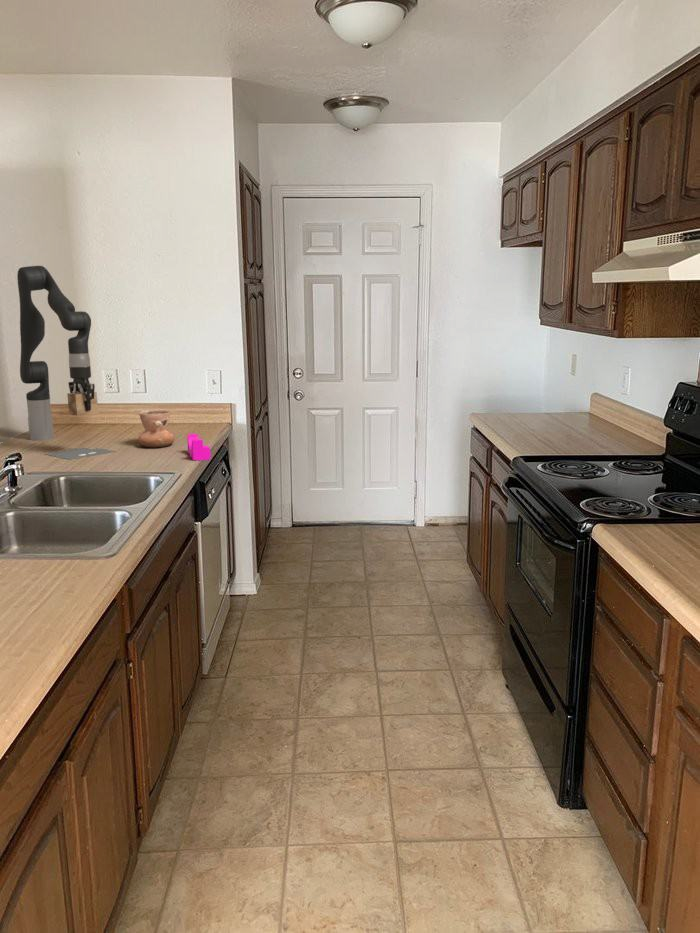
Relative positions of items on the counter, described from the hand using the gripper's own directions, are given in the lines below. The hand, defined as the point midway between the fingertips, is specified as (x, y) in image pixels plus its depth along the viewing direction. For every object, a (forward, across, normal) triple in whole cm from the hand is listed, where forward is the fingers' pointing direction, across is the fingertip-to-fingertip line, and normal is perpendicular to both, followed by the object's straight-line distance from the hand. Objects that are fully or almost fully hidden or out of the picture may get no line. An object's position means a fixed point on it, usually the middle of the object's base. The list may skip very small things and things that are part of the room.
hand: (83, 409), depth 283 cm
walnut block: (+2, 0, 0) cm, 2 cm away
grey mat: (+17, -4, 0) cm, 18 cm away
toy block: (+18, +38, +24) cm, 48 cm away
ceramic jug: (+18, +8, +27) cm, 33 cm away
